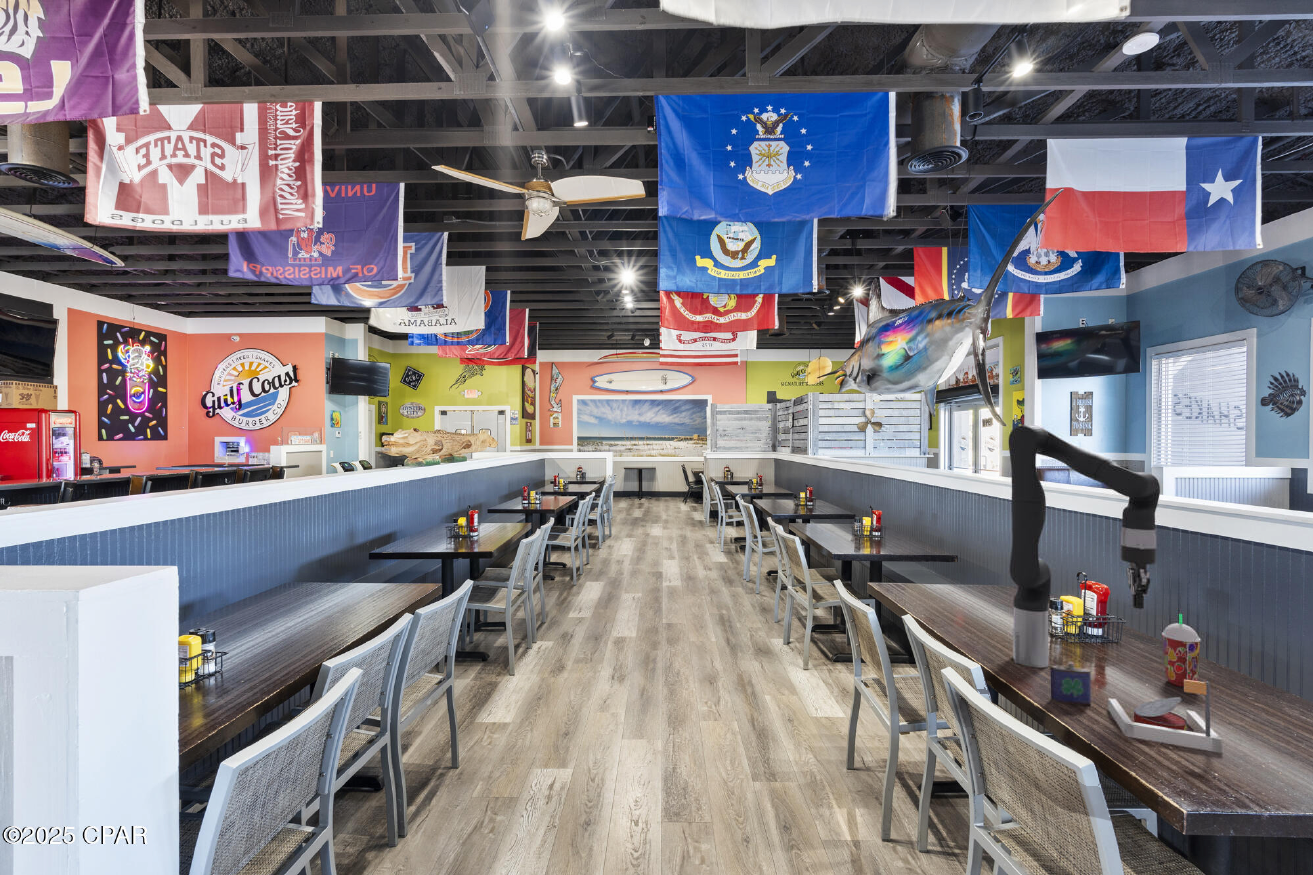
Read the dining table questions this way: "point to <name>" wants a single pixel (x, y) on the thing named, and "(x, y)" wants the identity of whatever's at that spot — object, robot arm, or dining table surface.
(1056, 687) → the flask
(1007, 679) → the dining table surface
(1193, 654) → the smoothie
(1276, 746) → the dining table surface
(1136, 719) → the canned food
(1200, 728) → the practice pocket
